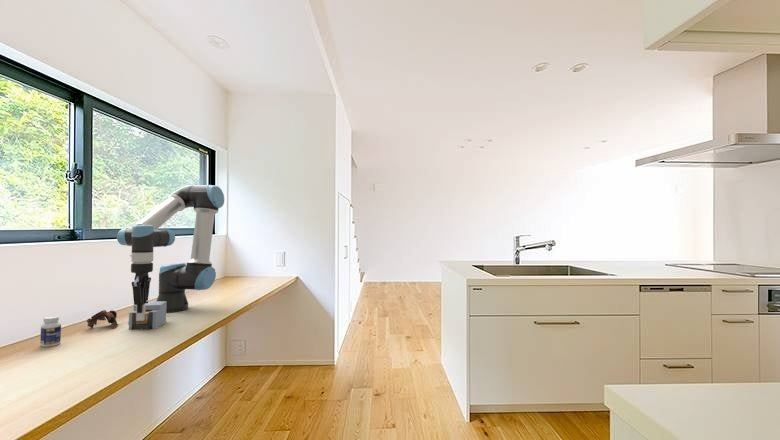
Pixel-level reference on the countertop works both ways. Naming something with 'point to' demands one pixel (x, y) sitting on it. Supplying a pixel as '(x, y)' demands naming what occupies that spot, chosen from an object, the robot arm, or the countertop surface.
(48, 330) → the pill bottle
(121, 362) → the countertop surface
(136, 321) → the peg
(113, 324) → the brown curved piece
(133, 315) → the sleeve block
